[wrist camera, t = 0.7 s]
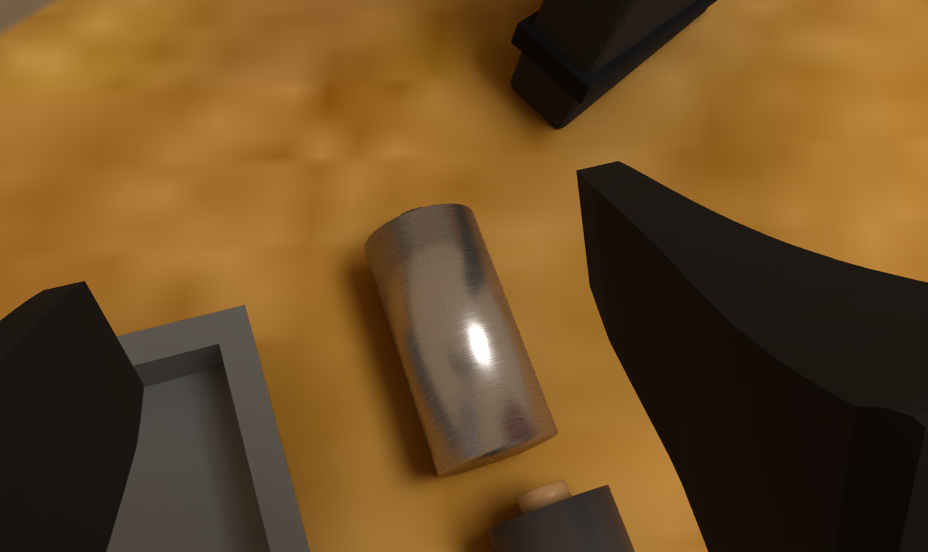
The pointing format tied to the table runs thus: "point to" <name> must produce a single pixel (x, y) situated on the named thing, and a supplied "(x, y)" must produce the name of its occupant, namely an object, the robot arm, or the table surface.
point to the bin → (205, 445)
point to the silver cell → (457, 339)
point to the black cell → (563, 523)
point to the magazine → (590, 48)
